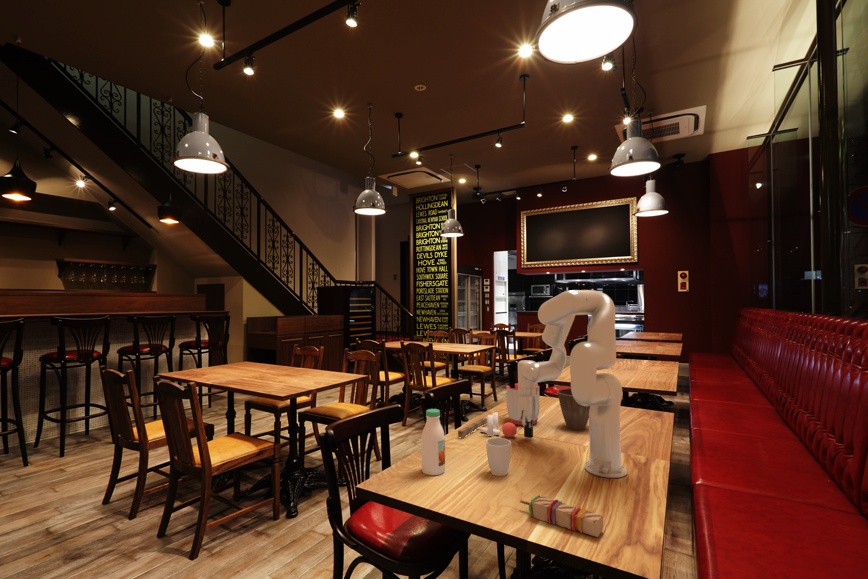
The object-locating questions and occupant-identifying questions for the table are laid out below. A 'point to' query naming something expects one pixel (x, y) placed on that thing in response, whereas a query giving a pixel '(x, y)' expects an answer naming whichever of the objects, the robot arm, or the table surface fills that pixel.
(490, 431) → the pin
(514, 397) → the citrus juicer
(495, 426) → the pin
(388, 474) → the table surface
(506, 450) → the cup
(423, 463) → the milk bottle
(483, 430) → the front pin
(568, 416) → the plant pot
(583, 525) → the skewer
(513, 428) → the ball
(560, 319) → the robot arm
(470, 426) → the brown textured bar
